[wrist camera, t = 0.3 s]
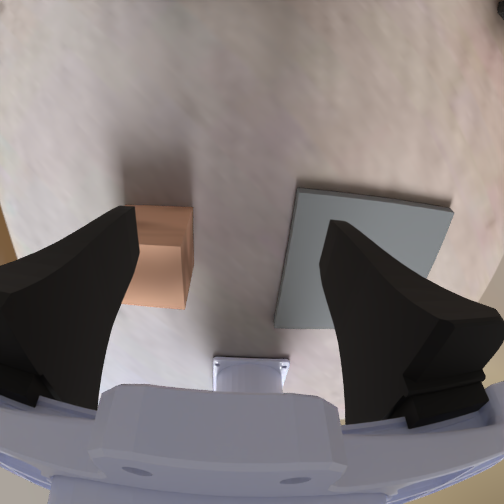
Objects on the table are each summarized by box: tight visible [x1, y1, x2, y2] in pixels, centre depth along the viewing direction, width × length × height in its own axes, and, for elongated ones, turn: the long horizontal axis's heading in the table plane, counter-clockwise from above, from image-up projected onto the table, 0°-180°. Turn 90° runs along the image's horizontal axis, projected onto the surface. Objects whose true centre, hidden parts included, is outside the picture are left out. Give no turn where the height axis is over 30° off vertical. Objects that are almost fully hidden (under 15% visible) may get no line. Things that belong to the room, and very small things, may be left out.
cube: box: [121, 205, 194, 310], centre depth 21 cm, size 5×5×5 cm
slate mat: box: [274, 188, 454, 329], centre depth 25 cm, size 13×13×1 cm
